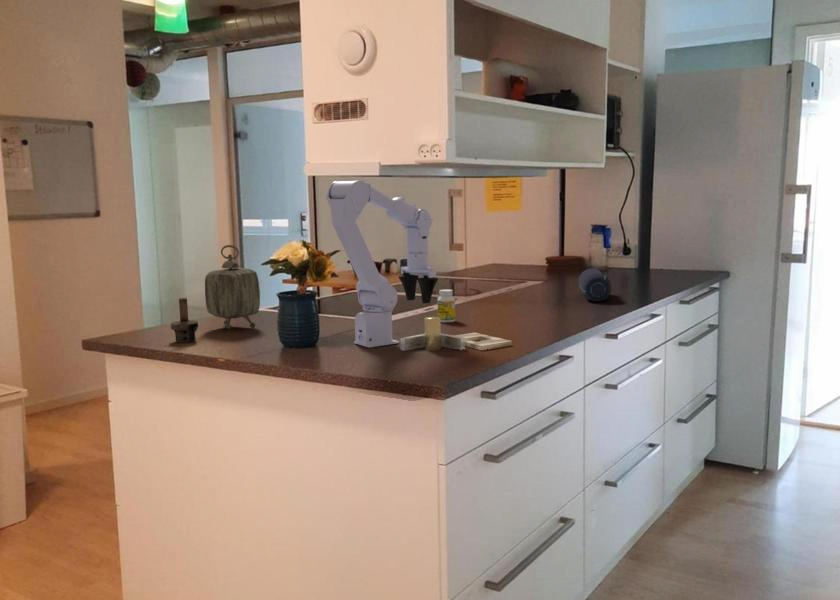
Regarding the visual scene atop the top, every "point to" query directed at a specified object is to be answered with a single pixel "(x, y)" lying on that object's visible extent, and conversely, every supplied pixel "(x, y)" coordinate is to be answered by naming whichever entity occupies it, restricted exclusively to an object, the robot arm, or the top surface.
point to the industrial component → (184, 324)
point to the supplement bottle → (446, 306)
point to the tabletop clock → (232, 291)
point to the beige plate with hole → (484, 341)
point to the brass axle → (432, 333)
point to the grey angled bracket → (419, 342)
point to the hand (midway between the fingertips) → (418, 301)
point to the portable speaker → (594, 285)
